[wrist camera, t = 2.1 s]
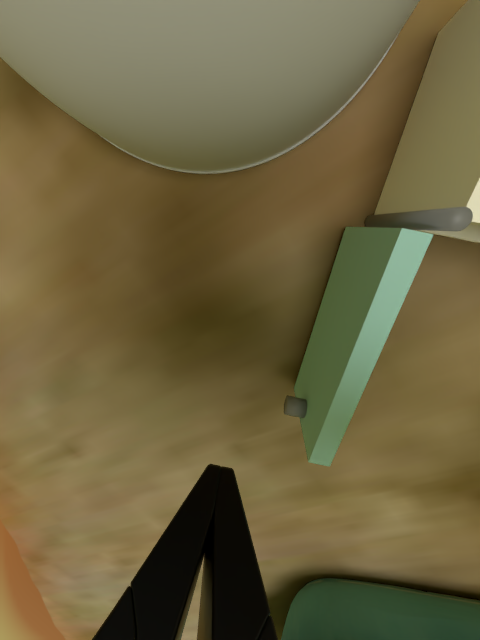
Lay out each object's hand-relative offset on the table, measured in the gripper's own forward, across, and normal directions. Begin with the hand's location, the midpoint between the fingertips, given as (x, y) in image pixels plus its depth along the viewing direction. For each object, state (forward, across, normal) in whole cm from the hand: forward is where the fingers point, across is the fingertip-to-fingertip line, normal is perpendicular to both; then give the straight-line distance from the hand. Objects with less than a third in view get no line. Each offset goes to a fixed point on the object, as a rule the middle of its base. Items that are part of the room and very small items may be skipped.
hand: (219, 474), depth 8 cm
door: (+11, -5, -2) cm, 13 cm away
